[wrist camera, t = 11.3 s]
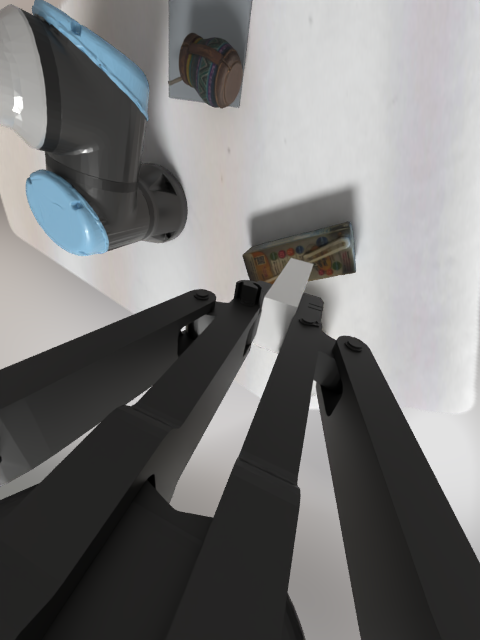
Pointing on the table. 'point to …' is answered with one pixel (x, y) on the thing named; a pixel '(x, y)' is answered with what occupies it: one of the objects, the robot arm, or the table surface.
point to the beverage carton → (305, 254)
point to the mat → (206, 34)
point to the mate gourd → (210, 69)
